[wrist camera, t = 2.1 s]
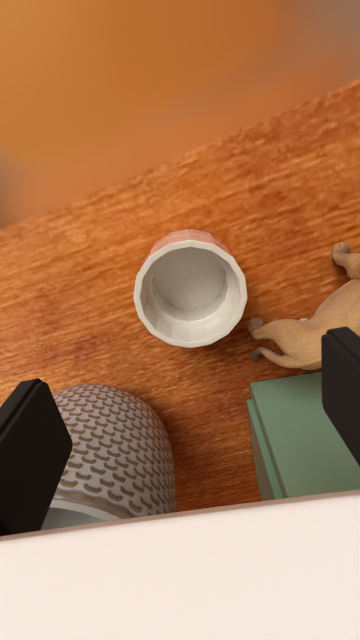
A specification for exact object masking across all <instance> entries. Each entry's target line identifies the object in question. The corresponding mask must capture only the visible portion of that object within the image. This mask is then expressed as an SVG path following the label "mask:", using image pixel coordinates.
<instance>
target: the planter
mask: <svg viewBox="0 0 360 640" xmlns="http://www.w3.org/2000/svg"><path fill="white" fill-rule="evenodd" d="M52 395H53V398H54V400H55V402H56V405H57V407H58V409H59V411H60V414H61V416H62V418H63V420H64V423H65V425H66V427H67V430H68V432H69V434H70V436H71V439H72V443H73V448H72V452H71V454H70V457H69V459H68V462H67V464H66V467H65V469H64V472H63V474H62V477H61V480H60V482H59V485H58V487H57V490H56V492H55V495H54V497H53V500H52V502H51V505H50V507H49V510H48V512H47V515H46V517H45V520H44V522H43V525H42V527H41V530H40V531H42V530H49V529H56V528H63V527H70V526H78V525H85V524H92V523H99V522H107V521H114V520H121V519H129V518H136V517H144V516H152V515H159V514H167V513H174V512H177V493H176V480H175V469H174V460H173V453H172V448H171V444H170V440H169V437H168V434H167V431H166V429H165V427H164V425H163V423H162V421H161V419H160V418H159V417H158V415H157V414H156V412H155V411H154V410H153V409H152V408H151V407H150V406H149V405H148V404H147V403H145V402H144V401H142V400H141V399H140V398H138V397H137V396H135V395H133V394H131V393H129V392H127V391H125V390H122V389H119V388H116V387H112V386H108V385H100V384H82V385H75V386H70V387H67V388H63V389H61V390H58V391H56V392H54V393H52Z"/></svg>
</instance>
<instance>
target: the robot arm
mask: <svg viewBox="0 0 360 640" xmlns="http://www.w3.org/2000/svg"><path fill="white" fill-rule="evenodd" d="M321 373H322V405H323V409H324V411H325V413H326V414H327V416H328V418H329V419H330V421H331V422H332V424H333V426H334V427H335V429H336V430H337V432H338V433H339V435H340V437H341V438H342V440H343V441H344V443H345V444H346V446H347V448H348V449H349V451H350V452H351V454H352V455H353V457H354V459H355V460H356V462H357V463H358V465H359V466H360V337H359V336H358V335H357V334H356V333H355V332H353V331H352V330H351V329H350V328H349V327H340V328H334V329H328V330H327V332H326V334H325V335H322V337H321ZM72 448H73V443H72V439H71V436H70V434H69V432H68V430H67V427H66V425H65V423H64V420H63V418H62V416H61V414H60V411H59V409H58V407H57V405H56V402H55V400H54V398H53V395H52V393H51V391H50V389H49V386H48V384H47V383H46V382H42V381H41V380H40V379H33V380H28V381H22V382H20V383H19V385H18V386H17V387H16V388H15V390H14V391H13V392H12V393H11V395H10V396H9V397H8V398H7V400H6V401H5V402H4V404H3V405H2V406H1V407H0V640H360V489H359V490H350V491H341V492H332V493H323V494H315V495H307V496H299V497H291V498H283V499H275V500H267V501H259V502H251V503H244V504H236V505H228V506H220V507H212V508H205V509H197V510H189V511H182V512H174V513H167V514H159V515H152V516H144V517H136V518H129V519H121V520H114V521H107V522H99V523H92V524H85V525H78V526H70V527H63V528H56V529H49V530H42V531H40V530H41V527H42V525H43V522H44V520H45V517H46V515H47V512H48V510H49V507H50V505H51V502H52V500H53V497H54V495H55V492H56V490H57V487H58V485H59V482H60V480H61V477H62V474H63V472H64V469H65V467H66V464H67V462H68V459H69V457H70V454H71V452H72Z"/></svg>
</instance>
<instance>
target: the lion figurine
mask: <svg viewBox="0 0 360 640" xmlns="http://www.w3.org/2000/svg"><path fill="white" fill-rule="evenodd" d="M350 252H351V249H350V247H349V243H344V242H340V243H336V244H334V247H333V250H332V258H333V259H334V261H335V263H336V264H337V265H340V266H343V267H345V269H346V270H347V275H348V276H349V277H350V278H351V280H350V281H349V282H347V283H346V284H344V285H343V286H342V287H340V288H339V289H337V290H336V291H335V292H334V293H332V294H331V295H330V296H329V297H328V298H327V299H326V300H325V301H324V302H323V303H322V304H321V305H320V306H319V308H318V309H317V310H316V312H315V315H314V317H313V318H311V319H310V320H309V319H307V318H302V319H300V320H295V319H280V320H275V321H272V322H270V323H267V324H265V325H263V319H262V318H259V317H252V318H250V319H249V321H248V323H247V328H248V331H249V332H250V334H251V335H252V336H253V337H254V338H255V339H256V340H260V339H270V340H272V341H274V342H275V343H276V344H277V345H278V346H279V348H280V349H281V350H282V351H283V352H284V354H283V356H280V355H278V354H276V353H275V352H273V351H270V350H269V349H267V348H265V347H258V348H257V349H255V350H253V351H252V355H251V359H252V360H254V361H256V360H257V359H258V358H259V357H260V356H261V355H262V354H263V355H264V356H265V357H266V358H267V359H269V360H270V361H272V362H273V363H275V364H277V365H280V366H283V367H287V368H300V369H303V370H314V369H319V368H321V337H322V335H325V334H326V332H327V330H328V329H334V328H340V327H349V328H350V329H351V330H352V331H353V332H355V333H356V334H357V335H358V336H359V337H360V253H350Z"/></svg>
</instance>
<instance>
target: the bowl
mask: <svg viewBox="0 0 360 640" xmlns="http://www.w3.org/2000/svg"><path fill="white" fill-rule="evenodd" d="M247 298H248V297H247V288H246V279H245V276H244V274H243V272H242V271H241V269H240V267H239V266H238V264H237V262H236V261H235V259H234V257H233V256H232V254H231V253H230V251H229V250H228V248H227V247H226V245H225V244H224V243H223V242H221V241H220V240H219V239H217V238H216V237H214V236H213V235H212V234H210V233H208V232H203V231H199V230H194V229H186V230H180V231H175V232H171V233H169V234H168V235H166V236H165V237H163V238H162V239H160V240H159V241H157V242H156V243H155V244H154V245H153V247H152V248H151V250H150V251H149V253H148V255H147V256H146V258H145V260H144V262H143V264H142V266H141V268H140V270H139V272H138V274H137V276H136V282H135V288H134V295H133V299H134V302H135V306H136V310H137V313H138V317H139V319H140V320H141V321H142V322H143V324H144V325H145V326H146V328H147V329H148V330H149V332H150V333H152V335H154V336H156V337H158V338H159V339H161V340H163V341H164V342H166V343H168V344H170V345H176V346H181V347H186V348H193V347H199V346H205V345H210V344H212V343H214V342H215V341H217V340H219V339H221V338H223V337H224V336H226V335H228V334H229V333H230V331H231V330H232V329H233V328H234V327H235V325H236V324H237V323H238V322H239V321H240V319H241V318H242V315H243V311H244V308H245V305H246V302H247Z"/></svg>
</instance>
